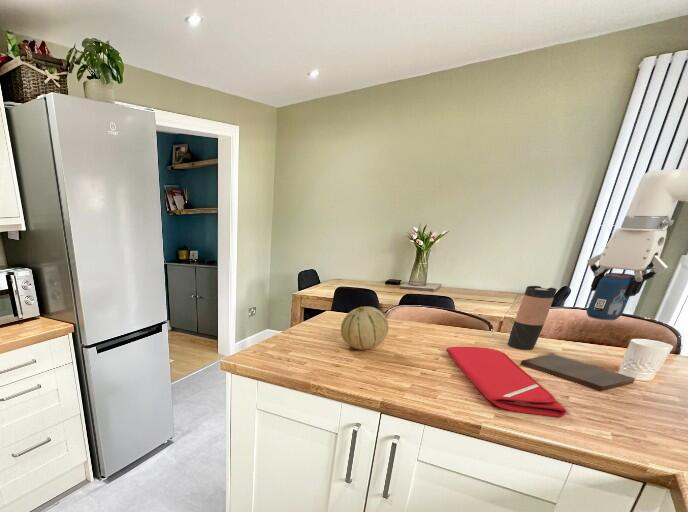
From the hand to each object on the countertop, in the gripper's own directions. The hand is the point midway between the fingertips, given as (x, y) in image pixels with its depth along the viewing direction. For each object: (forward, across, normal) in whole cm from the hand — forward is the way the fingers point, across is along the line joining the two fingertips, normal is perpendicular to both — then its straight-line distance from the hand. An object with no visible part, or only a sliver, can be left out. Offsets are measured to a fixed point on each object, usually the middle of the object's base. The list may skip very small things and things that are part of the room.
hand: (612, 292), depth 109 cm
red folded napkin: (+23, +3, +31) cm, 39 cm away
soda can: (+7, 0, 0) cm, 7 cm away
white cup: (+23, -9, -7) cm, 26 cm away
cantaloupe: (+23, +37, +48) cm, 65 cm away
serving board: (+23, -2, +6) cm, 24 cm away
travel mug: (+23, +19, -4) cm, 30 cm away
